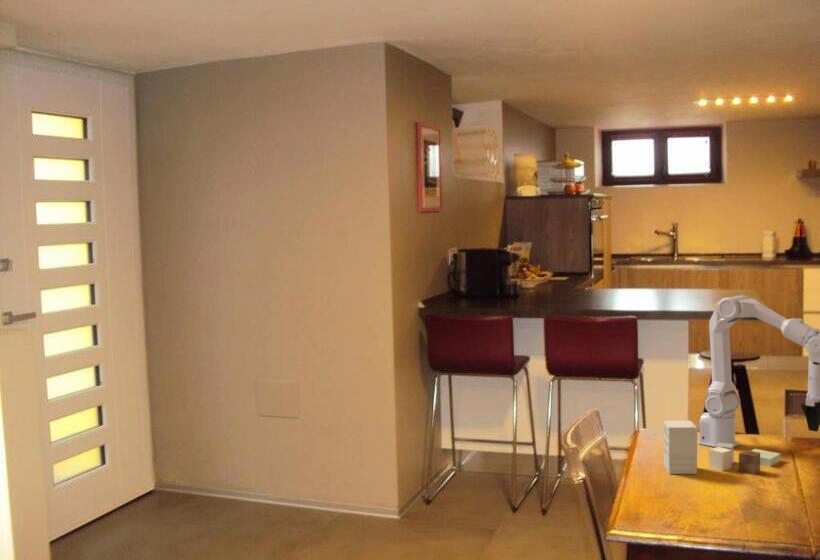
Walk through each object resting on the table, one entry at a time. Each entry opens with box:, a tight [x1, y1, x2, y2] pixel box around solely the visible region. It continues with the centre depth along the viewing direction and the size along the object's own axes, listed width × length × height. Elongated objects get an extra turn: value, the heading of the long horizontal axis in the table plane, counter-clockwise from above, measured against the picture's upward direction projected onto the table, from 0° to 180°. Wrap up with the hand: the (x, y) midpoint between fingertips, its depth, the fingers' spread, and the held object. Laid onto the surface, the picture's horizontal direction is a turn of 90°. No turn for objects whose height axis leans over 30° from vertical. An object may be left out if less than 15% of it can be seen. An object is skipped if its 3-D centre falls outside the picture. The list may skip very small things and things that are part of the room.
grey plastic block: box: [715, 442, 735, 466], centre depth 234 cm, size 4×4×5 cm
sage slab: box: [750, 448, 781, 468], centre depth 235 cm, size 7×7×2 cm
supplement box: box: [663, 420, 698, 475], centre depth 228 cm, size 7×7×13 cm
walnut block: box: [738, 449, 761, 476], centre depth 226 cm, size 4×4×5 cm
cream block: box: [708, 447, 732, 472], centre depth 230 cm, size 4×4×5 cm
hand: (818, 427), depth 231 cm, fingers open, 7 cm apart
